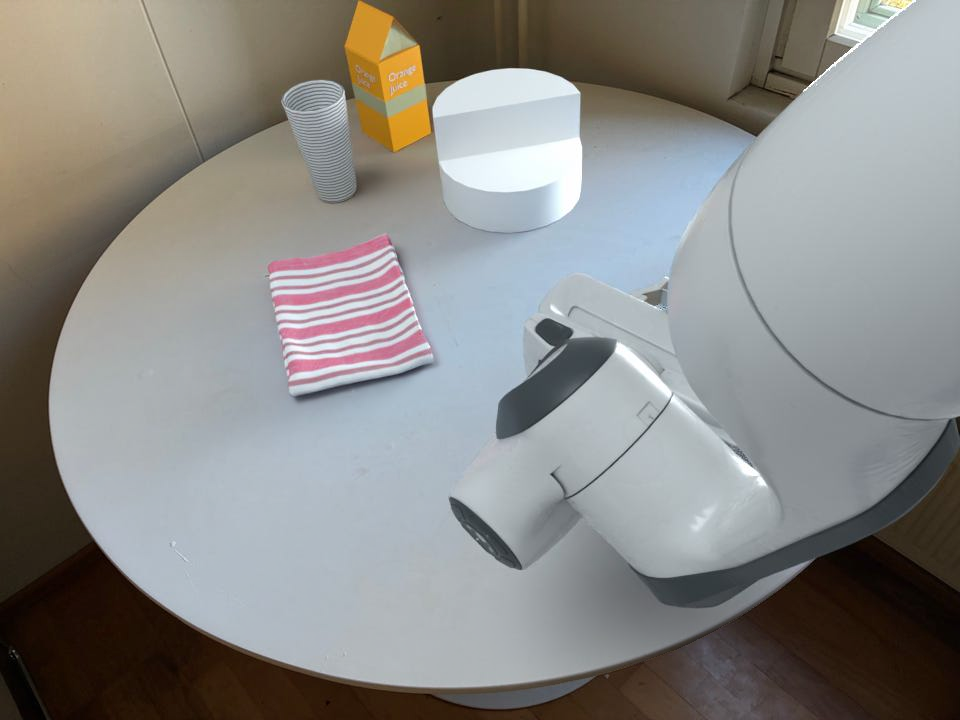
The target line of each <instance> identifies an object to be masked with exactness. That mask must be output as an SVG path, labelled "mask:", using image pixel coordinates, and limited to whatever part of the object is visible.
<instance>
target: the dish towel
mask: <svg viewBox="0 0 960 720" xmlns="http://www.w3.org/2000/svg"><path fill="white" fill-rule="evenodd" d="M267 271H268V273H269V277H268V281H269V288H270V293H271V294H270V295H271V302H272V306H273V309H274V315H275V322H276V324H277V332H278V335H279V340H280V343H281V346H282V358H283V361H284V363H283V364H284V369H285V373H286V376H287V388H288V393H289V396H290V397H298V396H304V395H307V394H313V393H317V392H322V391H325V390H328V389H334V388H337V387H342V386H347V385H352V384H356V383H360V382H361V383H362V382H365V381H370V380H376V379H380V378H383V377H384V378H386V377H388V376H389V377H390V376H395V375H399V374H402V373H405V372H407V371H410V370H413V369H416V368H419V367H421V366H424V365H428V364H433V362H434V355H433V352H432V349H431V345H430V344H429V342H428V341H427V339H426V337H425V335H424V332H423V328H422V327H421V324H420V322H419V318H418V316H417V314H416V308H415V306H414V301H413V298H412V296H411V293H410V290H409V289H408V285H407V283H406V277H405V275H404V271H403V269H402V267H401V265H400V263H399V260H398V255H397V253H396V248H395V246H394V244H393V242H392V240H391V238H390V237H389V235H388V233H387V232H386V233H383V234H380V235H378V236H376V237H373V238H372V239H370V240H367V241H365V242H362V243H361V242H360V243H357V244H356V245H352V246H351V247H348V248H346V249H343V250H339V251H331V252H326V253H323V254H319V255H314V256H310V257H309V256H308V257H293V258H284V259H277V260H273V261H272V262H270V263H269V264H268V265H267Z"/></svg>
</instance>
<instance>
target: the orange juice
mask: <svg viewBox="0 0 960 720" xmlns="http://www.w3.org/2000/svg"><path fill="white" fill-rule="evenodd" d="M420 46H421V45H420V43H418V42H417V40H416V39H415V38H414V37H413V36H412V35H411V34H410V33H409V32H408V31H407V29H406V28H404V26H403V25H402V24H401V23H400V22H399V21H398V20H397V19H396V18H395V16H393V15H391V14H389V13H387V12H385V11H383V10H381V9H379V8H376V7H374V6H373V5H371V4H368V3H366V2H364V1H362V0H358V2H357V5H356V8H355V11H354V15H353V18H352V21H351V25H350V28H349V30H348V35H347V37H346V40H345V43H344V46H343V47H344V50H345V56H346V60H347V61H346V62H347V65H348V70H349V74H350V75H349V76H350V80H351V86H352V91H353V95H354V99H355V104H356V109H357V113H358V119H359V124H360V128H361V132H362V133H363V134H364V135H366V136H367V137H369V138H371V139H372V140H374V141H375V142H376V143H379V144H380V145H381V146H383V147H385V148H386V149H387V150H389V151H391V152H393V153H396V152H399V150H402V149H404V148H406V147H407V146H409V145H411V144H413V143H415V142H417V141H419V140H421V139H423V138H424V137H427V136H428V135H431V134H432V130H431V123H430V114H429V108H428V100H427V99H428V97H427V88H426V83H425V77H424V76H425V75H424V69H423V63H422V53H421V47H420Z"/></svg>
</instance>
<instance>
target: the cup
mask: <svg viewBox="0 0 960 720" xmlns="http://www.w3.org/2000/svg"><path fill="white" fill-rule="evenodd" d="M281 104H282V107H283V109H284V112H285V115H286V118H287V119H288V123H289V125H290V127H291V131H292V132H293V135H294V138H295V142H296V144H297V146H298V148H299V151H300V155H301V156H302V158H303V162H304V164H305V166H306V167H305V168H306V169H307V172H308V175H309V177H310V180H311V182H312V185H313V188H314V190H315V193H316V195H317V198H318V199H320V200H321V201H322V202H325V203H330V204H333V203H335V204H336V203H341V202H344V201H347V200H348V199H350V198H352V197H353V196H354V195H355V194H356V192H357V188H358V185H357V184H358V183H357V176H356V169H355V161H354V154H353V147H352V146H353V145H352V137H351V131H350V123H349V116H348V106H347V100H346V92H345V89H344V87H343V86H342V84H340V83H339V82H336V81H334V80H330V79H324V78H323V79H311V80H307V81H306V80H305V81H303V82H299V83H297V84H295V85H292V86H290V88H288V89H287V90H286V91H285V92H284V93H283V94H282V96H281Z"/></svg>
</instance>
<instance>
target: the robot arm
mask: <svg viewBox="0 0 960 720" xmlns="http://www.w3.org/2000/svg"><path fill="white" fill-rule="evenodd" d="M671 261H672V262H671V265H670V269H669V275H668V277H667V276H664V277H663V278H662V279H661V280H660V281H659V282H658V283H657V284H656V285H652V286H651V285H650V286H647V287H646V286H645V287H643V288H638V289H635V290H634V291H632V293H630V294H628V293H626V292H625V291H622V290H620V289H618V288H616V287H614V286H612V285H609V284H607V283H606V282H603V281H601V280H599V279H597V278H595V277H592V276H591V275H588V274H586V273H584V272H575V273H569V274H567V275H565V276H563V277H562V278H561V279H560V280H559V281H558V282H557V283H556V284H555V285H554V286H553V287H552V288H551V289H550V290H549V291H548V293H546V295H545V296H544V297H543V298H542V300H541V301H540V304H539V305H538V312H537V313H535V314H533V315H531V316H530V317H529V318H527V320H526V321H525V322H524V325H523V334H522V335H523V336H522V352H523V354H522V355H523V362H524V368H525V374H526V378H525V380H523V382H522V383H520V384H519V385H517V386H515V387H514V388H512V389H511V390H509V391H508V392H507V393H506V394H505V395H503V397H501V399H500V400H499V401H498V403H497V404H498V405H497V413H496V421H495V432H494V433H493V434H492V435H491V437H490V438H489V439H488V440H487V441H486V442H485V444H484V445H483V446H482V447H481V448H480V449H479V451H478V452H477V453H476V454H475V455H474V457H473V458H472V460H471V461H470V462H469V464H468V465H467V466H466V467H465V469H464V470H463V472H462V473H461V475H460V476H459V477H458V479H457V480H456V482H455V483H454V485H453V486H452V488H451V490H450V491H449V494H448V502H449V505H450V510H451V511H452V513H453V515H454V517H455V519H456V520H457V522H459V523H460V525H461V527H462V528H463V529H464V530H465V532H467V533H468V535H469V536H470V537H471V538H472V539H474V541H475V542H476V543H477V544H478V545H479V546H480V547H481V548H482V549H483V550H484V551H485V552H486V553H487V554H489V555H491V556H492V557H493V558H494V559H495V560H496V561H497V562H499V563H501V564H502V565H504V566H505V567H508V568H510V569H515V570H518V571H525V570H527V569H529V568H531V566H533V565H534V564H535V563H537V562H538V561H539V560H541V559H542V558H543V557H544V556H545V555H546V554H547V553H549V551H550V550H551V549H553V548H554V547H555V546H556V545H558V543H559V542H560V541H561V540H562V539H564V537H566V535H567V534H568V533H570V531H572V529H574V528H575V526H576V525H577V524H579V523H580V521H582V519H584V520H585V521H586V522H587V523H588V524H589V525H590V526H591V527H592V528H593V529H594V530H595V531H596V532H597V533H598V534H599V535H600V536H601V537H602V538H603V539H604V540H605V541H606V542H607V543H608V544H609V545H610V546H611V547H612V548H613V549H614V550H615V551H616V552H617V553H618V554H619V555H620V556H621V557H622V558H623V559H624V560H625V561H626V562H627V565H628V566H629V567H630V569H631V570H632V571H633V573H634V574H635V575H636V576H637V577H638V579H639V580H641V582H642V583H643V584H644V585H645V586H646V587H647V589H648V590H649V591H650V592H651V594H653V596H654V597H655V599H657V600H658V602H660V603H661V604H663V605H666V606H670V607H677V608H684V609H708V608H714V607H717V606H720V605H722V604H724V603H726V602H728V601H729V600H731V599H733V598H735V597H736V596H738V595H739V594H740V593H743V592H744V591H745V590H746V589H748V588H749V587H751V586H752V585H754V584H755V583H757V582H758V581H760V580H762V579H765V578H767V577H770V576H772V575H775V574H778V573H780V572H783V571H786V570H788V569H790V568H794V567H796V566H799V565H801V564H805V563H807V562H809V561H812V560H815V559H818V558H820V557H823V556H825V555H827V554H830V553H833V552H835V551H838V550H841V549H843V548H845V547H848V546H851V545H852V544H855V543H857V542H859V541H861V540H863V539H865V538H868V537H870V536H871V535H874V534H876V533H878V532H879V531H882V530H883V529H885V528H887V527H889V526H890V525H892V524H893V523H896V522H897V521H898V520H900V519H901V518H902V517H904V516H905V515H907V514H908V513H909V512H911V511H912V510H913V509H914V508H915V507H916V506H917V505H918V504H920V502H921V501H923V500H924V498H926V497H927V496H928V495H929V493H930V492H931V491H932V490H933V489H934V488H935V486H937V484H938V483H939V481H940V480H941V479H942V477H943V476H944V474H945V472H946V471H947V470H948V468H949V466H950V465H951V463H952V462H953V460H954V459H955V457H956V455H957V453H958V451H959V449H960V434H959V429H958V426H957V421H956V418H958V417H960V0H913V1H912V2H910V3H909V4H908V5H906V6H905V7H903V8H902V9H900V10H899V11H898V12H897V13H895V14H894V15H893V16H891V17H890V18H888V19H887V20H886V21H885V22H883V23H882V24H881V25H879V27H877V28H876V29H875V30H873V31H872V32H871V33H870V34H869V35H867V36H866V37H865V38H864V39H862V40H861V41H859V43H857V44H856V45H855V46H853V47H852V48H851V49H850V50H849V51H848V52H846V53H845V54H844V55H843V56H841V57H840V58H839V59H838V60H837V61H836V62H834V64H832V65H831V66H830V67H829V68H828V69H826V70H825V71H824V72H823V73H822V74H821V75H820V76H819V77H817V79H816V80H814V81H813V82H812V83H811V84H809V86H808V87H807V88H805V89H804V90H803V91H802V92H801V93H800V94H799V95H798V96H797V97H796V98H795V99H793V101H791V102H790V103H789V104H788V105H787V106H786V107H785V108H784V109H783V110H782V111H781V112H780V113H779V114H778V115H777V116H776V117H775V118H774V119H773V120H772V121H771V122H770V123H769V124H768V125H767V126H766V127H765V128H764V129H763V130H762V131H761V132H760V133H759V134H758V135H757V136H756V138H754V140H752V141H751V142H750V144H749V145H748V146H747V147H746V148H745V149H744V150H743V151H742V152H741V154H739V156H738V157H737V158H736V159H735V160H734V161H733V163H732V164H731V165H730V166H729V167H728V169H727V170H726V171H725V172H724V173H723V175H721V177H720V178H719V180H718V181H717V182H716V183H715V184H714V186H713V187H712V189H710V191H709V192H708V193H707V195H706V196H705V198H704V199H703V201H702V202H701V204H700V205H699V206H698V208H697V209H696V210H695V212H694V214H693V215H692V217H691V219H690V220H689V222H688V223H687V225H686V227H685V228H684V231H683V232H682V235H681V237H680V239H679V241H678V244H677V246H676V248H675V252H674V254H673V257H672V260H671ZM660 304H661V305H662V306H665V307H666V308H667V309H666V311H665V310H663V309H660V308H659V307H657V306H658V305H660ZM737 451H741V453H743V455H744V456H745V458H747V460H748V461H749V462H750V464H749V463H748V462H747V461H745V460H744V459H743V458H742V457H740V455H738V454H737V453H736V452H737ZM751 465H752V466H751Z"/></svg>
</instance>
